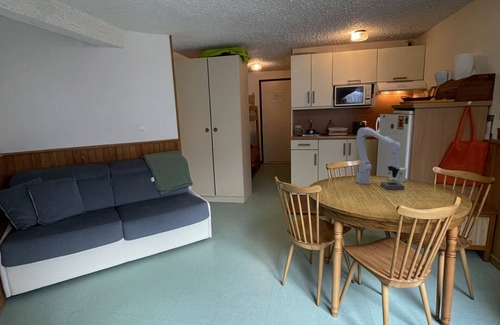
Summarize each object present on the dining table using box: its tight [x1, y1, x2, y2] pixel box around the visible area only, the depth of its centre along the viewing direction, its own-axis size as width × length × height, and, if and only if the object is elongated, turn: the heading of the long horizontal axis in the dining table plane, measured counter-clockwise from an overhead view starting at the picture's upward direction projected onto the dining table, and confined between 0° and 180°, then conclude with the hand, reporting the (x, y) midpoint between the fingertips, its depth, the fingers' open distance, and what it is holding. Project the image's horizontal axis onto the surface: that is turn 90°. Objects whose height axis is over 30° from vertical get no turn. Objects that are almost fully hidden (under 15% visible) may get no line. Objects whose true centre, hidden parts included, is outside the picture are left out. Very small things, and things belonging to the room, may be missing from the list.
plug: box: [387, 170, 398, 180], centre depth 200 cm, size 6×4×6 cm, turn 86°
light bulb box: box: [388, 167, 407, 183], centre depth 220 cm, size 11×7×11 cm, turn 43°
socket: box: [380, 181, 405, 191], centre depth 201 cm, size 12×11×3 cm
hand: (393, 176), depth 200 cm, fingers closed on plug, 3 cm apart
